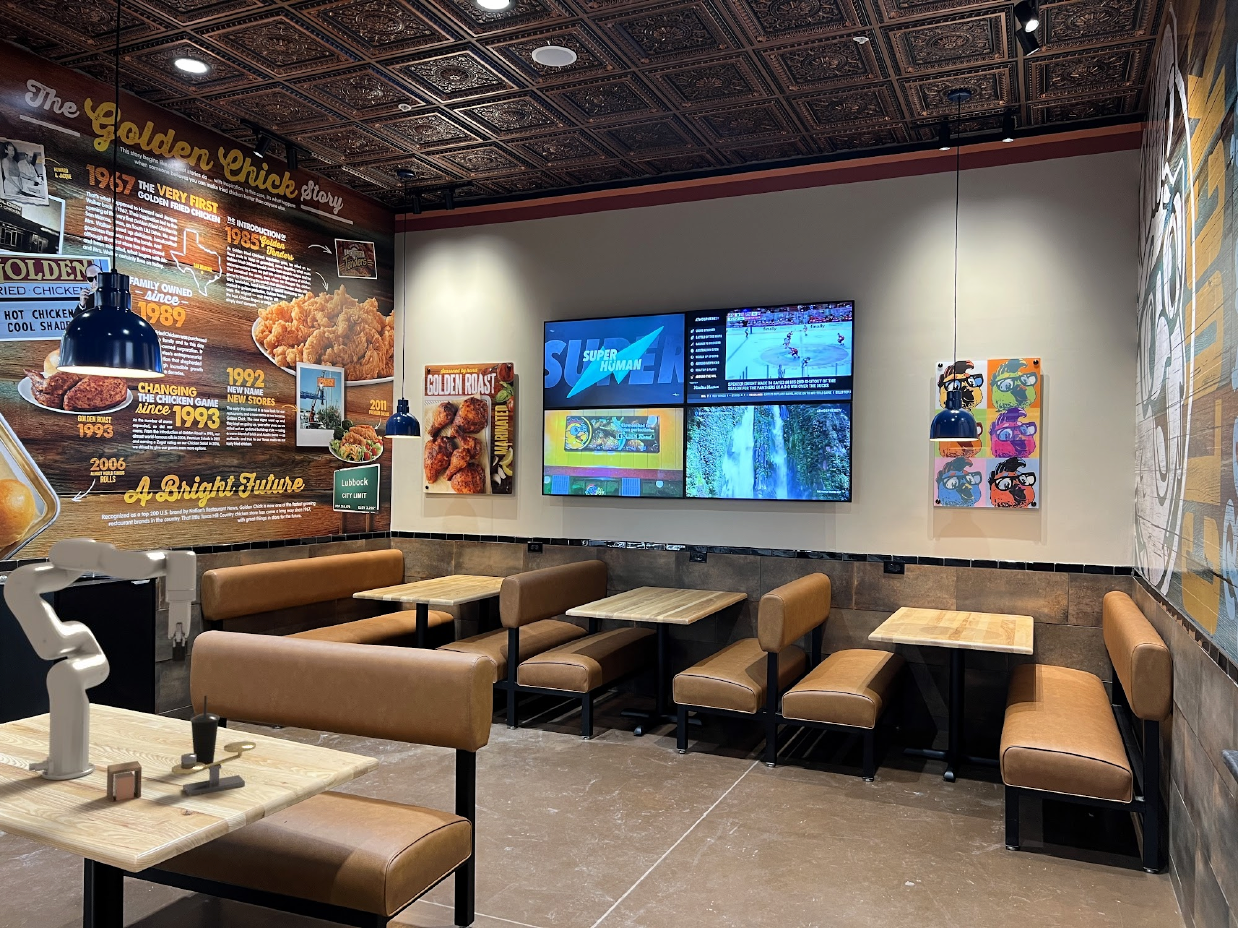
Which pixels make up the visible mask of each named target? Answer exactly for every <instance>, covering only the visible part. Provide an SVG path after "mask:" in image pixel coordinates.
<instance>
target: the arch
mask: <svg viewBox="0 0 1238 928" xmlns="http://www.w3.org/2000/svg"><path fill="white" fill-rule="evenodd" d="M106 766H107V769H106V770H107V772H106V775H107V776H106V797H107V799H108V801H109V803H110V804H111V803H114V775H115V774H121V773H128V772H132V773H133V772H134V773H133V775H134V794H135V793H136V794H135V796H136V797H137V798H138V797H139V798H141V797H142V773H143V772H142V769H143V768H142V765H141V763H140V762H139V760H136V761H128V762H121V763H115V764H109V765H106Z"/></svg>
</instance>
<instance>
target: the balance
mask: <svg viewBox="0 0 1238 928" xmlns="http://www.w3.org/2000/svg"><path fill="white" fill-rule="evenodd" d="M256 747H257V743H256V742H254V741H245V740H244V741H236V742H235V741H234V742H231V743H228V744H225V745H224V746H223V750H224V751H225V752H227V753H237V754H235V755H233V756H230V757H229V756H228V757H227V758H223V759H221V760H217V761H214V762H213V763H211V764H208V765H205V764H204V763H200V762H196V754H194V752H191V753H184V754H181V756H180V763H179V764H176V765H174V766H172V767H171V773H172V774H176V775H192V774H195V773H198V772H202V771H204V770H207V769H208V770H209V775H208V776H209V779H208V780H203V781H195V782H193V783H186V784H182V790H183V792H184V793H185V792H186V793H187V794H186V793H185V794H186V795H187V797H190V796H189V795H193V796H197V795H203V794H202V793H204V794H208V792H209V793H214V792H218V791H219V790H220V791H224V789H226V790H228V789H227V788H231V789H235V788H234V787H237V788H242V787H245V786H246V784H245V783H246V781H245V779H243V778H242V777H241V776H240V775H239V774H238V775H232V776H226V777H220V769H222V764H225V763H228V762H232V761H235V760H237V759H240V758H241V757H242V756H243V754H242V753H244V752H248V751H251V750H254V749H256ZM200 793H201V794H200Z"/></svg>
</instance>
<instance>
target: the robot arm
mask: <svg viewBox="0 0 1238 928" xmlns="http://www.w3.org/2000/svg"><path fill="white" fill-rule="evenodd" d="M47 555H48V561H45V562H39V563H38V562H37V563H30V564H25V565H23V566H22V565H21V566H19V567H17V568H16V569H14V570H12V571H11V572H10V574H9V575H8V576H7V577H6V580H5V582H4V586H3V597H4V599H5V600H4V601H5V602H6V605H7V606H8V608H9V610H10V611H11V612H12V614H13V615H14V617H15V618H16V620H17V621H18V622H19V625H20V626H21V628H22V630H23V632H24V634H25V635H26V637H27V639H28V641H29V642H30V644H31V645H32V648H33V649H34V651H35V653H36V654H37V655H38V656H39V657H40V658H41V659H43V660H45V661H49V660H50V661H51V660H57V659H60V658H65V657H67V659H64V660H61V661H59V662H57V663H55V664H54V665H53V666H51V668H50V669H49V671H48V672H47V677H46V689H47V693H48V697H49V741H48V742H49V743H48V746H49V747H48V751H49V752H48V756H47V757H46V759H45V760H42V762H41V761H40V762H31V763H29V764H28V772H32V771H34V772H40V771H42V772H41V777H42V778H43V779H46V780H53V781H61V780H69V779H75V778H77V779H78V778H81V777H83V776H84V777H85V776H87V775H89V774H91V773H93V772H94V771H95V770H96V765H95V764H94V763H92V762H90V761H89V760H90V759H89V757H90V755H89V754H90V723H91V722H90V714H91V711H90V710H91V709H90V707H91V705H90V701H89V698H88V695H87V693H86V690H88V689H90V688H93V687H96V686H98V685H100V684H101V683H103V682H104V681H105V680H106V679H107V678H108V676H109V675H110V674H109V673H110V665H109V661H108V659H107V657H106V654H105V653H104V651H103V649H102V647H101V646H100V644H99V642H98V641H97V640H96V637H95V635H94V634H93V632H92V631H91V629H90V628H89V627H88V626H86V624H84V623H82V622H80V621H77V620H70V621H63V622H62V621H61V620H60V618H59V617H58V616H57V614H56V612H55V609H54V608H53V607H52V605H50V603H48V602H47V601H46V600H45V599H43V598H42V597H41V595H40V594H44V593H46V594H47V593H49V592H50V593H51V592H57V591H60V590H63V589H65V588H67V587H68V586H69V585H71V584H73V583H74V582H75V581H76V580H78V579H79V578H80V577H81V576H83V575H84V574H85V573H93V574H94V573H95V574H103V575H105V576H108V577H112V578H120V579H126V580H127V579H128V580H129V579H130V580H146V579H152V578H158V577H159V578H160V577H163V576H164V577H165V602H166V603H169V607H168V629H167V632H168V633H167V637H168V639H169V640H171V639H172V638H173V643H172V644H173V645H172V651H171V652H172V656H171V658H172V662H173V663H174V662H185V661H186V655H188V654H189V653H188V652H189V649H188V648H189V646H188V645H189V642H188V641H189V640H188V637H189V634H190V631H191V630H190V629H191V621H192V620H191V619H192V617H191V615H192V613H191V612H192V602H195V601H197V597H196V596H197V555H196V553H195V551H192V550H169V549H151V550H143V551H131V550H123V549H122V550H121V549H117V548H116V546H115V545H114V544H113V543H110V542H101V541H97V540H95V539H93V538H91V537H74V538H64V539H61V540H58V541H56V542H54V543H53V544H52V545H51V547H50V548H49V550H48V553H47Z"/></svg>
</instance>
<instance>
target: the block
mask: <svg viewBox="0 0 1238 928" xmlns="http://www.w3.org/2000/svg"><path fill="white" fill-rule="evenodd" d="M132 797H133V798H134V797H135V792H134V773H133V771H132V772H125V773H119V774H114V792H113V798H114V800H115V801H121V800H126V798H127V799H133V798H132Z"/></svg>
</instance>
